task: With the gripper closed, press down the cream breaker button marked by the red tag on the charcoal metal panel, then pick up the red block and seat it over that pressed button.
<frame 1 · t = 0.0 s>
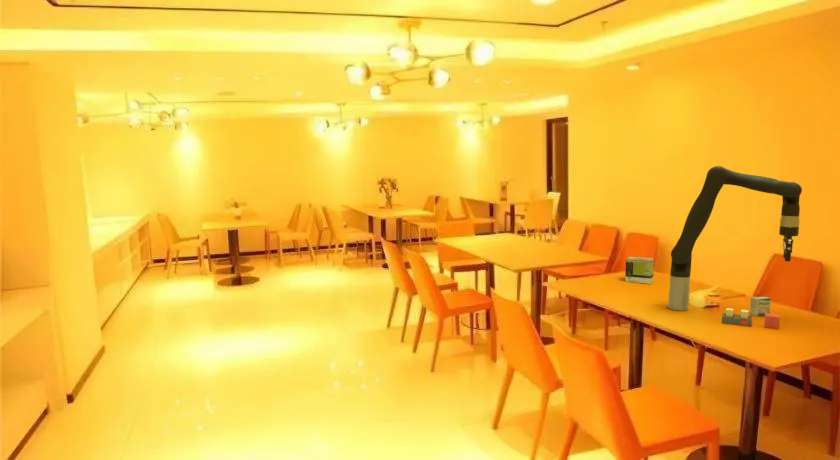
hand: (786, 259, 264), 29 cm above the table, fingers open, 8 cm apart
breaker tagged: (744, 315, 263), point 4 cm above the table, slide at 0.0 cm
breaker plain: (729, 313, 265), point 4 cm above the table, slide at 0.0 cm
tea box: (639, 282, 351), on the table
breaker panel: (736, 322, 265), on the table
medicine box: (759, 315, 277), on the table
red block: (771, 326, 258), on the table
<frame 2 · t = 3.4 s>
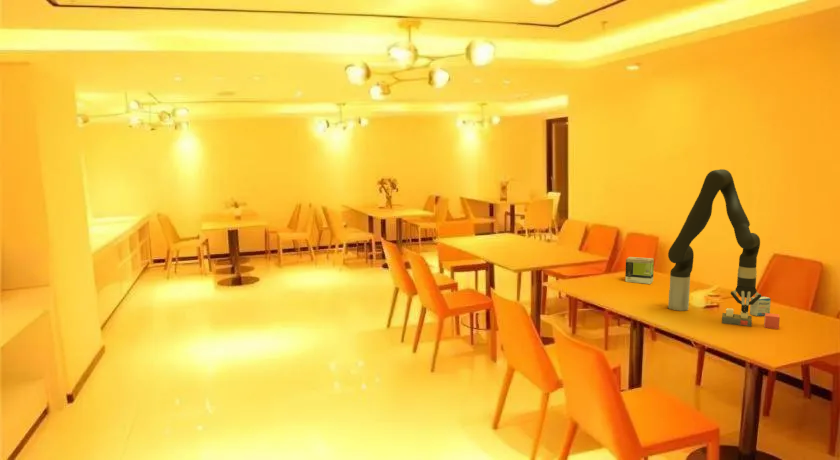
hand: (744, 312, 262), 5 cm above the table, fingers closed
breaker tagged: (744, 317, 263), point 3 cm above the table, slide at 0.8 cm, touching gripper
everything else where it was.
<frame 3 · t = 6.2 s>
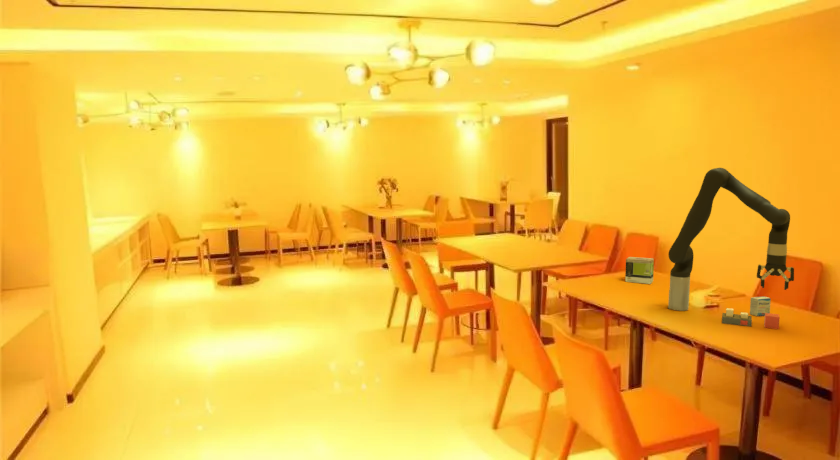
hand: (774, 288, 255), 18 cm above the table, fingers open, 8 cm apart
breaker tagged: (744, 318, 263), point 3 cm above the table, slide at 1.2 cm
everything else where it was.
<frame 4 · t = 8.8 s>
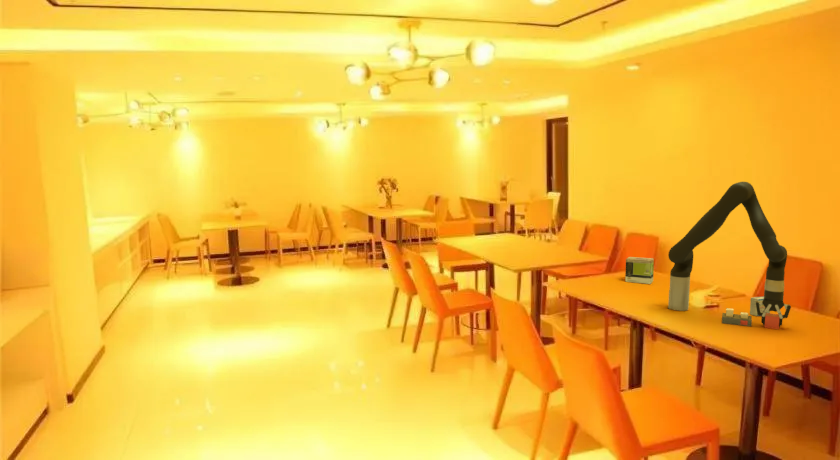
hand: (771, 325, 258), 1 cm above the table, fingers closed on red block, 5 cm apart
red block: (771, 326, 258), on the table, touching gripper
everything else where it was.
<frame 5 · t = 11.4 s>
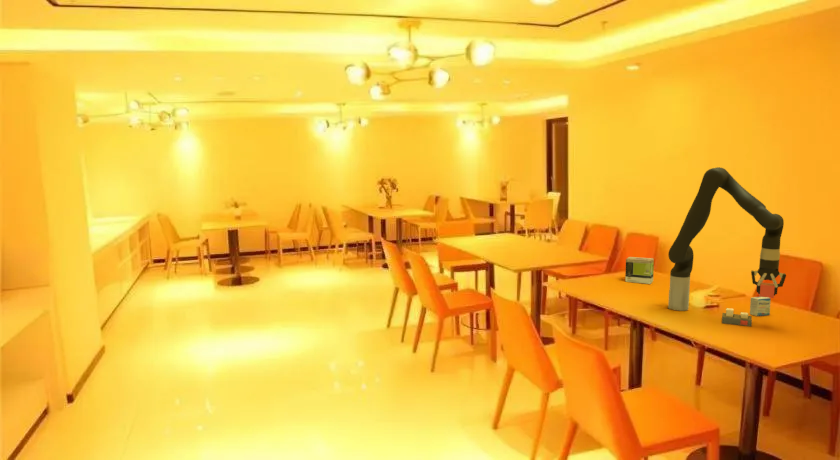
hand: (766, 294, 257), 15 cm above the table, fingers closed on red block, 5 cm apart
red block: (766, 295, 258), point 14 cm above the table, touching gripper
everything else where it was.
when the fingers open (5 cm above the table, at t = 14.4 s): red block drops 1 cm, resting on breaker panel.
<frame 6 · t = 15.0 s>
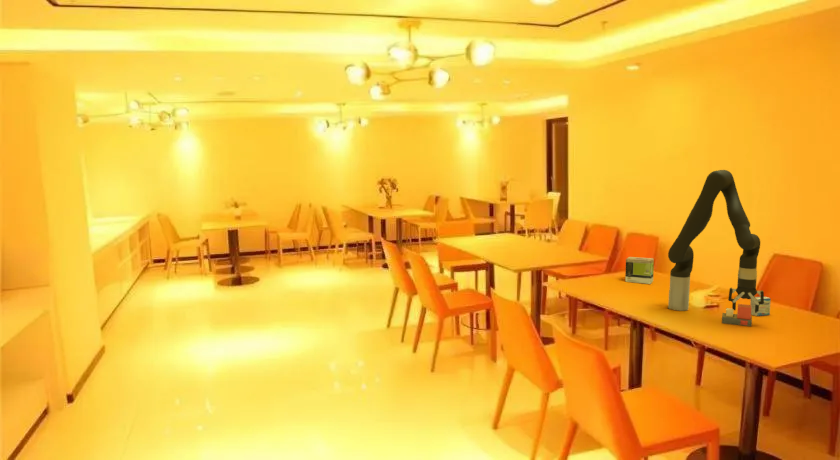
hand: (745, 311, 262), 6 cm above the table, fingers open, 8 cm apart
breaker plain: (729, 313, 265), point 4 cm above the table, slide at 0.0 cm, touching gripper
red block: (743, 317, 263), point 3 cm above the table, touching breaker panel
everything else where it was.
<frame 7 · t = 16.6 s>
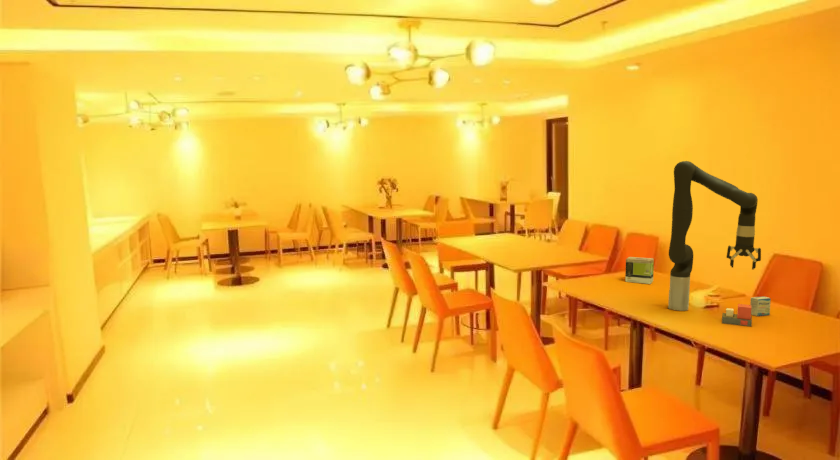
hand: (742, 268, 270), 24 cm above the table, fingers open, 8 cm apart
breaker plain: (729, 313, 265), point 4 cm above the table, slide at 0.0 cm
everything else where it was.
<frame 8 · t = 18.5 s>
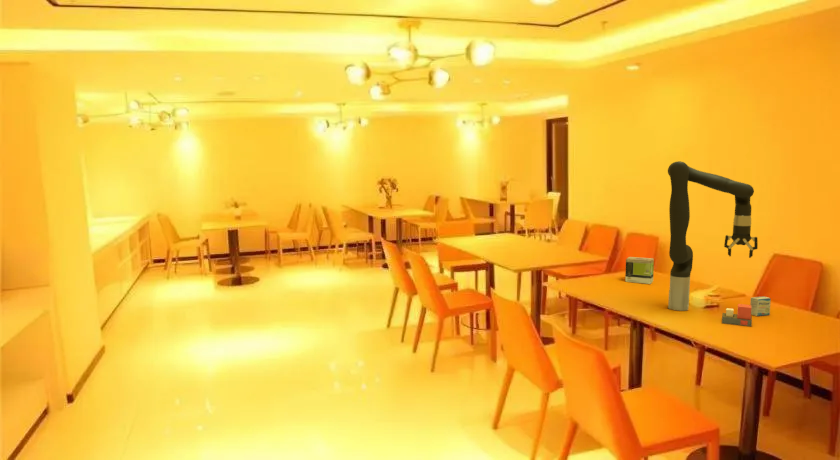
hand: (739, 256, 278), 28 cm above the table, fingers open, 8 cm apart
nothing on the table moved.
at the end: breaker tagged slide at 1.2 cm; breaker plain slide at 0.0 cm; red block 0.1 cm from the target spot, point 3.0 cm above the table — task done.
